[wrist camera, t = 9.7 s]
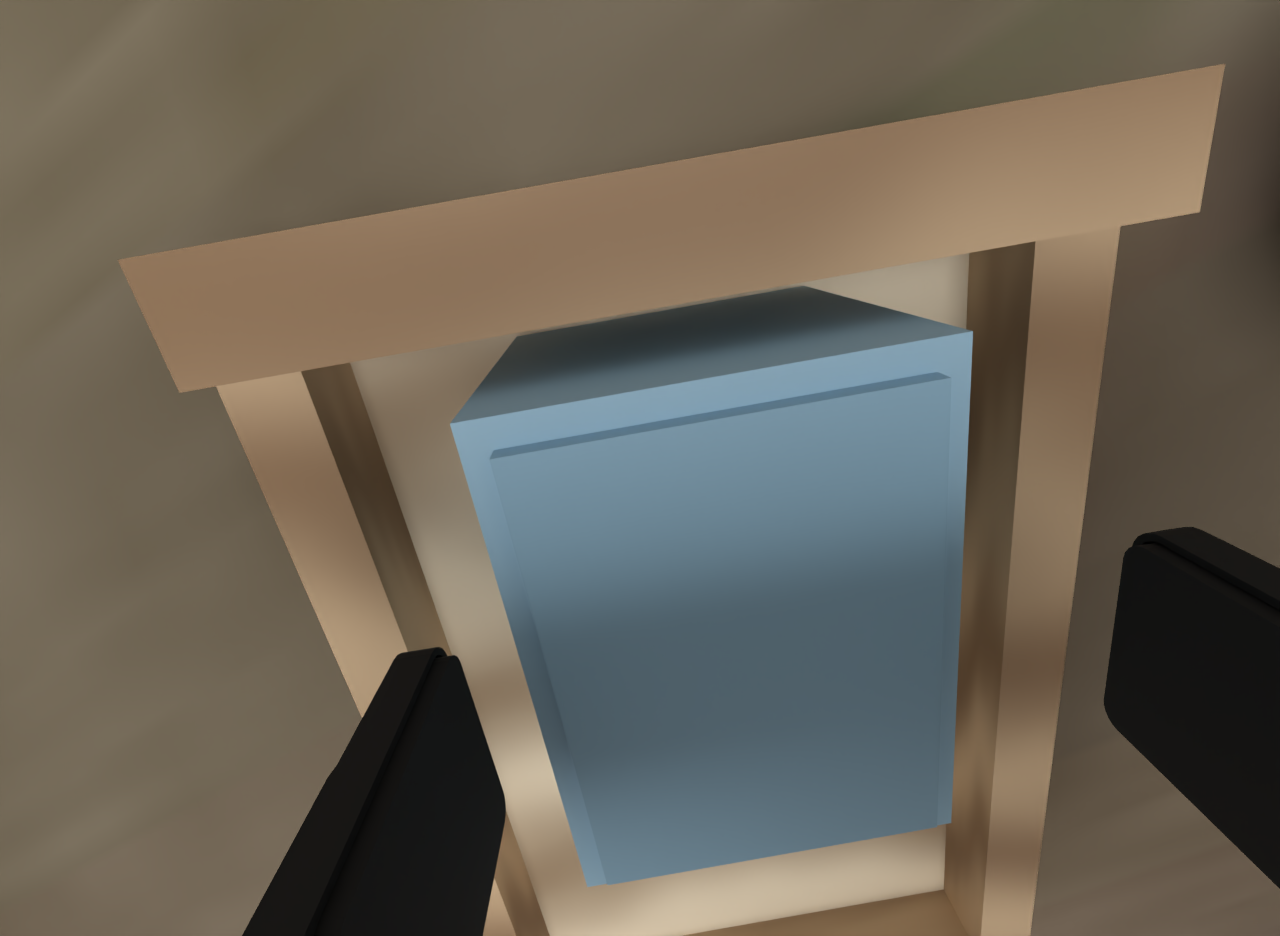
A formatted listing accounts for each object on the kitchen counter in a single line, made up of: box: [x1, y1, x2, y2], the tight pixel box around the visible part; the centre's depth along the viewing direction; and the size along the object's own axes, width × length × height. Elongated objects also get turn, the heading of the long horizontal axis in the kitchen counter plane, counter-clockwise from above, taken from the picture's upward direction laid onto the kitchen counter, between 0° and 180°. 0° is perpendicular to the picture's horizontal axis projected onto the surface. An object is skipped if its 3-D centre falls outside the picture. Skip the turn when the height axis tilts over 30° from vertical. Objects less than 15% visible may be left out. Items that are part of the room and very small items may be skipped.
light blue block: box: [450, 286, 973, 887], centre depth 11 cm, size 8×6×6 cm
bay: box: [118, 64, 1225, 936], centre depth 14 cm, size 24×16×6 cm, turn 9°
